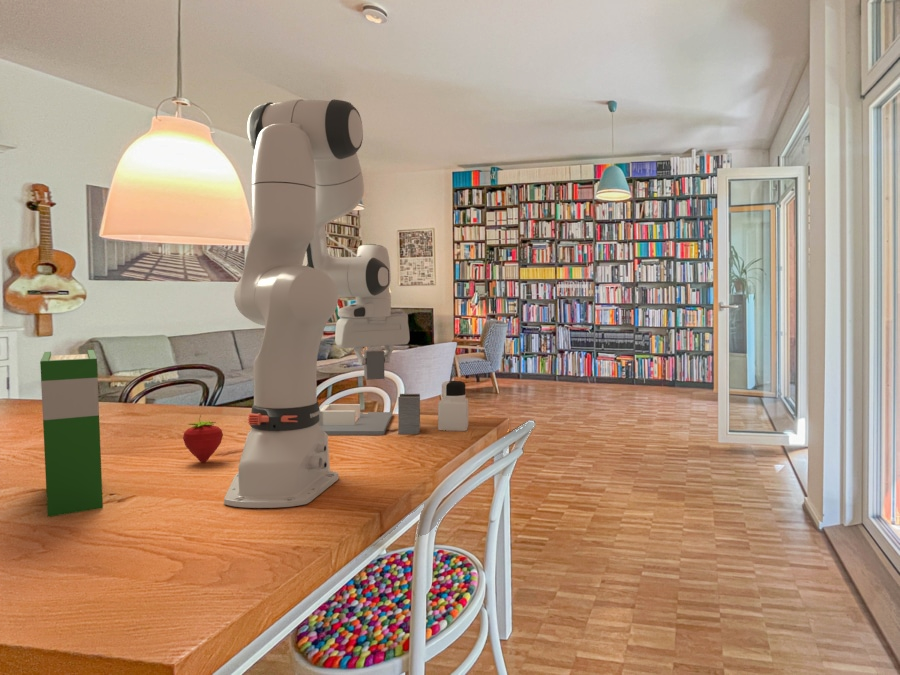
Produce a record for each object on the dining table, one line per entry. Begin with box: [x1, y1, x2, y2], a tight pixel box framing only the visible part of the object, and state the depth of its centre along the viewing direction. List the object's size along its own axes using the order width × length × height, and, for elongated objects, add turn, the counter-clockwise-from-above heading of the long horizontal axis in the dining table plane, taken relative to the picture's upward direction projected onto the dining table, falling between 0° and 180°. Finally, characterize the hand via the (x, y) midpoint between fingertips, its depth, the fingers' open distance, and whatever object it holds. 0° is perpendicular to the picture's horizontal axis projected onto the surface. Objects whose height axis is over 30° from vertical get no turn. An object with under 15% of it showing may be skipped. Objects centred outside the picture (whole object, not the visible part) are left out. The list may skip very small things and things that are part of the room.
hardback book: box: [39, 349, 104, 517], centre depth 103 cm, size 18×7×24 cm, turn 31°
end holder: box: [318, 403, 393, 436], centre depth 161 cm, size 24×24×4 cm
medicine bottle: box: [437, 380, 469, 432], centre depth 157 cm, size 7×7×12 cm
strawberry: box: [182, 414, 224, 463], centre depth 125 cm, size 6×8×10 cm
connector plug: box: [363, 346, 386, 381], centre depth 157 cm, size 4×4×9 cm
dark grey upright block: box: [397, 393, 421, 435], centre depth 153 cm, size 6×5×9 cm
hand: (374, 364), depth 157 cm, fingers closed on connector plug, 5 cm apart
